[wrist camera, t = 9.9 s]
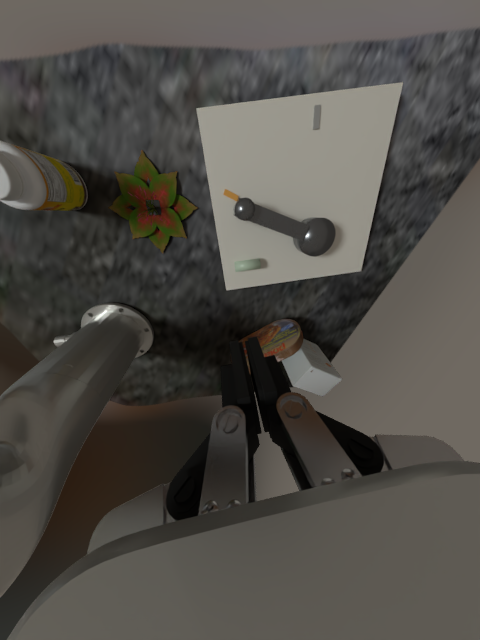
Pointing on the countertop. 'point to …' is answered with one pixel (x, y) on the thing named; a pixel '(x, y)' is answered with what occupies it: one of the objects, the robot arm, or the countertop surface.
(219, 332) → the countertop surface
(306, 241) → the grey knobbed bar
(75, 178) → the supplement bottle
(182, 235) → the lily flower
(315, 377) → the small box
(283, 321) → the tin
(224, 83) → the countertop surface
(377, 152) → the base
